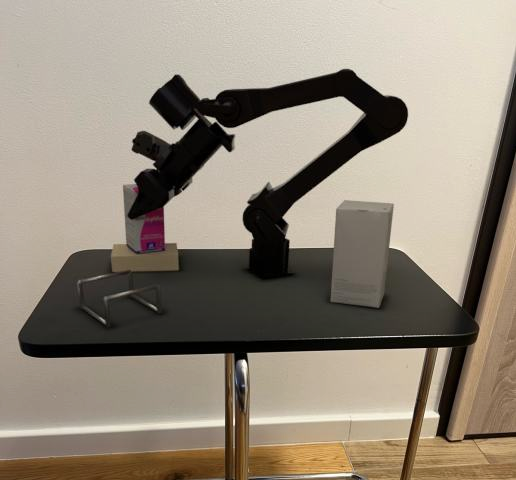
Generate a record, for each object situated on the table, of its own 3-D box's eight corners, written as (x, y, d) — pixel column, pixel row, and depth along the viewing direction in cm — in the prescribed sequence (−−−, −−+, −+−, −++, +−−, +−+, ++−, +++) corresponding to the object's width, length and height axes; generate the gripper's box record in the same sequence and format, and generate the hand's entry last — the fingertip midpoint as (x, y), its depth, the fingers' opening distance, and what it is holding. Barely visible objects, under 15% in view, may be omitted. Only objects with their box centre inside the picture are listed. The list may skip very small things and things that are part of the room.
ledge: (177, 257, 108) (176, 242, 106) (178, 270, 100) (178, 254, 99) (114, 259, 106) (113, 244, 104) (112, 272, 98) (110, 256, 97)
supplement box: (136, 254, 98) (131, 190, 93) (125, 246, 103) (121, 184, 98) (166, 251, 101) (163, 188, 96) (155, 243, 105) (151, 182, 100)
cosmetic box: (384, 296, 91) (397, 203, 84) (378, 310, 86) (392, 211, 79) (335, 289, 94) (344, 198, 87) (327, 302, 88) (335, 206, 81)
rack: (132, 295, 88) (130, 268, 86) (162, 313, 82) (161, 284, 80) (79, 308, 83) (76, 280, 81) (107, 328, 77) (104, 297, 75)
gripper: (172, 111, 99) (120, 171, 105) (142, 117, 83) (81, 188, 88) (215, 157, 102) (162, 214, 108) (194, 172, 85) (132, 238, 91)
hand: (136, 212), depth 99 cm, fingers closed on supplement box, 7 cm apart
